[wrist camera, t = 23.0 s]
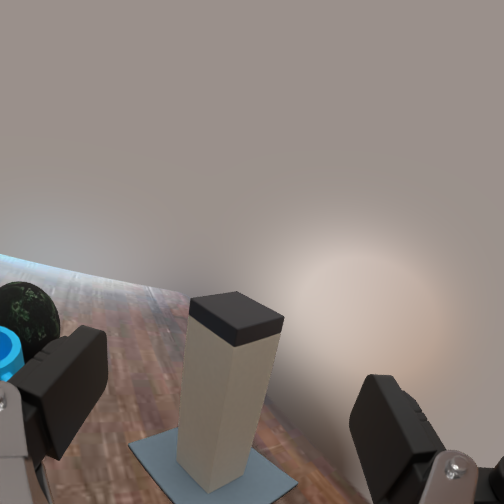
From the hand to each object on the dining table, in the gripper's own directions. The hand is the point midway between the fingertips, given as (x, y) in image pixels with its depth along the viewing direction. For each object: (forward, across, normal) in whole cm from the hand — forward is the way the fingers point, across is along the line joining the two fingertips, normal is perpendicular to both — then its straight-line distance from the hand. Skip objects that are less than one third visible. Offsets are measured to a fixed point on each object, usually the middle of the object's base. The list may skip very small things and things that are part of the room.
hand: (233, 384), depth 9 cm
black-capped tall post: (+11, 0, -18) cm, 21 cm away
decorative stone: (+19, -24, -19) cm, 36 cm away
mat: (+11, 0, -18) cm, 21 cm away
